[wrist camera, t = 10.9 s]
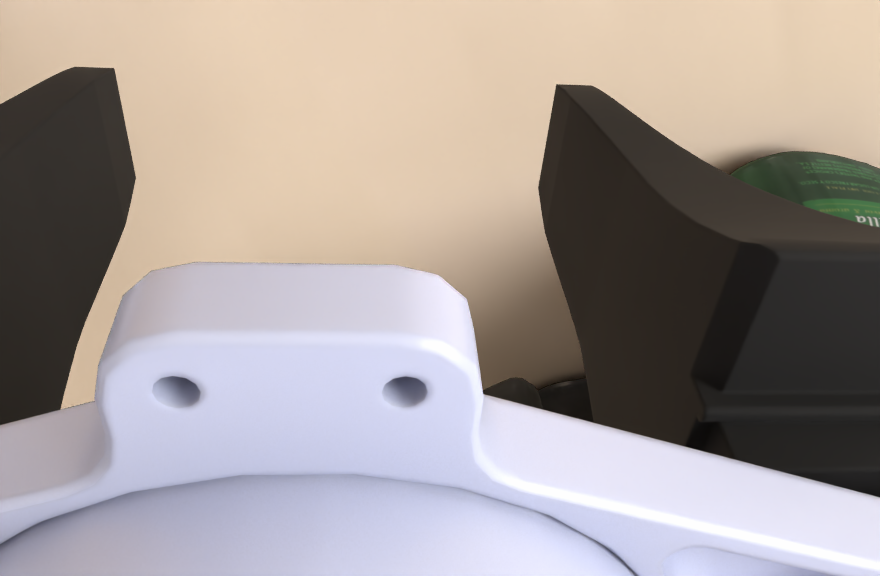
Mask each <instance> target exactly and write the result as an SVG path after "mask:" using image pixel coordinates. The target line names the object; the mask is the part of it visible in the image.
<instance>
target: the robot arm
mask: <svg viewBox="0 0 880 576" xmlns="http://www.w3.org/2000/svg"><path fill="white" fill-rule="evenodd" d="M135 179H136V176H135V171H134V166H133V161H132V156H131V151H130V146H129V141H128V136H127V131H126V126H125V121H124V116H123V110H122V105H121V100H120V95H119V90H118V85H117V80H116V75H115V70H114V68H91V67H73V68H70V69H67V70H65V71H62V72H60V73H58V74H56V75H54V76H52V77H50V78H48V79H46V80H44V81H42V82H40V83H39V84H37V85H35V86H33V87H31V88H29V89H28V90H26V91H24V92H22V93H20V94H18V95H17V96H15V97H13V98H11V99H9V100H7V101H6V102H4V103H2V104H0V576H880V227H875V226H871V225H866V224H862V223H858V222H855V221H851V220H848V219H844V218H841V217H837V216H834V215H830V214H827V213H823V212H820V211H817V210H814V209H811V208H808V207H805V206H802V205H799V204H796V203H794V202H791V201H789V200H786V199H784V198H781V197H778V196H776V195H773V194H771V193H768V192H765V191H763V190H761V189H759V188H756V187H754V186H752V185H749V184H747V183H745V182H743V181H741V180H739V179H737V178H735V177H733V176H731V175H729V174H727V173H725V172H723V171H721V170H719V169H717V168H715V167H713V166H712V165H710V164H708V163H706V162H705V161H703V160H701V159H699V158H698V157H696V156H695V155H693V154H691V153H690V152H688V151H687V150H685V149H683V148H682V147H680V146H679V145H677V144H675V143H674V142H673V141H671V140H670V139H668V138H667V137H665V136H664V135H662V134H661V133H659V132H658V131H656V130H655V129H654V128H652V127H651V126H649V125H648V124H647V123H645V122H644V121H643V120H641V119H640V118H638V117H637V116H636V115H634V114H633V113H632V112H630V111H629V110H628V109H626V108H625V107H624V106H622V105H621V104H620V103H618V102H617V101H615V100H614V99H613V98H611V97H610V96H608V95H607V94H605V93H604V92H602V91H601V90H599V89H597V88H595V87H594V86H585V85H558V84H556V90H555V96H554V101H553V107H552V113H551V119H550V124H549V130H548V136H547V141H546V147H545V153H544V158H543V164H542V170H541V175H540V181H539V187H538V189H539V196H540V203H541V210H542V217H543V223H544V229H545V234H546V237H547V241H548V244H549V247H550V250H551V254H552V257H553V260H554V263H555V266H556V269H557V273H558V276H559V279H560V282H561V285H562V288H563V291H564V294H565V297H566V300H567V303H568V307H569V310H570V313H571V316H572V319H573V322H574V325H575V329H576V332H577V336H578V340H579V344H580V348H581V353H582V358H583V364H584V369H585V374H586V380H587V385H588V390H589V396H590V402H591V409H592V415H593V421H594V423H592V422H588V421H585V420H581V419H577V418H573V417H569V416H565V415H561V414H558V413H554V412H550V411H546V410H542V409H538V408H535V407H531V406H527V405H523V404H519V403H515V402H512V401H508V400H504V399H500V398H496V397H492V396H488V395H485V394H483V389H482V382H481V375H480V368H479V361H478V354H477V347H476V340H475V333H474V328H473V323H472V319H471V315H470V310H469V306H468V301H467V299H466V298H465V297H464V296H463V295H461V294H460V293H459V292H458V291H457V290H456V289H454V288H453V287H452V286H451V285H450V284H449V283H447V282H446V281H445V280H444V279H443V278H442V277H440V276H439V275H437V274H433V273H429V272H424V271H420V270H415V269H411V268H407V267H402V266H398V265H371V264H302V263H233V262H193V263H188V264H183V265H178V266H173V267H168V268H163V269H158V270H153V271H150V272H149V273H148V274H147V275H146V276H145V277H144V278H142V279H141V280H140V281H139V282H138V283H137V284H136V285H134V286H133V287H132V288H131V289H130V290H129V291H128V292H126V293H125V294H124V295H123V297H122V300H121V302H120V305H119V308H118V311H117V314H116V317H115V319H114V322H113V325H112V328H111V331H110V334H109V336H108V339H107V342H106V345H105V348H104V350H103V353H102V356H101V359H100V362H99V365H98V372H97V381H96V390H95V401H92V402H88V403H84V404H80V405H77V406H73V407H69V408H65V409H61V410H60V408H61V404H62V400H63V396H64V391H65V388H66V384H67V380H68V377H69V373H70V369H71V365H72V362H73V358H74V354H75V350H76V347H77V344H78V341H79V338H80V335H81V332H82V329H83V327H84V324H85V321H86V319H87V317H88V314H89V312H90V309H91V307H92V305H93V302H94V300H95V298H96V295H97V293H98V290H99V288H100V286H101V283H102V281H103V278H104V276H105V274H106V271H107V269H108V267H109V264H110V262H111V259H112V257H113V255H114V252H115V250H116V247H117V245H118V242H119V240H120V237H121V235H122V232H123V230H124V227H125V224H126V220H127V216H128V212H129V208H130V203H131V199H132V194H133V189H134V184H135Z"/></svg>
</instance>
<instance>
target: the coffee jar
mask: <svg viewBox="0 0 880 576" xmlns="http://www.w3.org/2000/svg"><path fill="white" fill-rule="evenodd" d="M730 175H731V176H733V177H735V178H737V179H739V180H741V181H743V182H745V183H747V184H749V185H752V186H754V187H756V188H759V189H761V190H763V191H765V192H768V193H771V194H773V195H776V196H778V197H781V198H784V199H786V200H789V201H791V202H794V203H796V204H799V205H802V206H805V207H808V208H811V209H814V210H817V211H820V212H823V213H827V214H830V215H834V216H837V217H841V218H844V219H848V220H851V221H855V222H858V223H862V224H866V225H871V226H875V227H880V169H879V168H876V167H874V166H871V165H869V164H867V163H863V162H859V161H855V160H852V159H848V158H845V157H841V156H837V155H831V154H825V153H818V152H799V151H791V152H782V153H778V154H774V155H770V156H767V157H764V158H760V159H757V160H755V161H751V162H749V163H748V164H746V165H744V166H742V167H740V168H738V169H737V170H735V171H734V172H733V173H732V174H730Z"/></svg>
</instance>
